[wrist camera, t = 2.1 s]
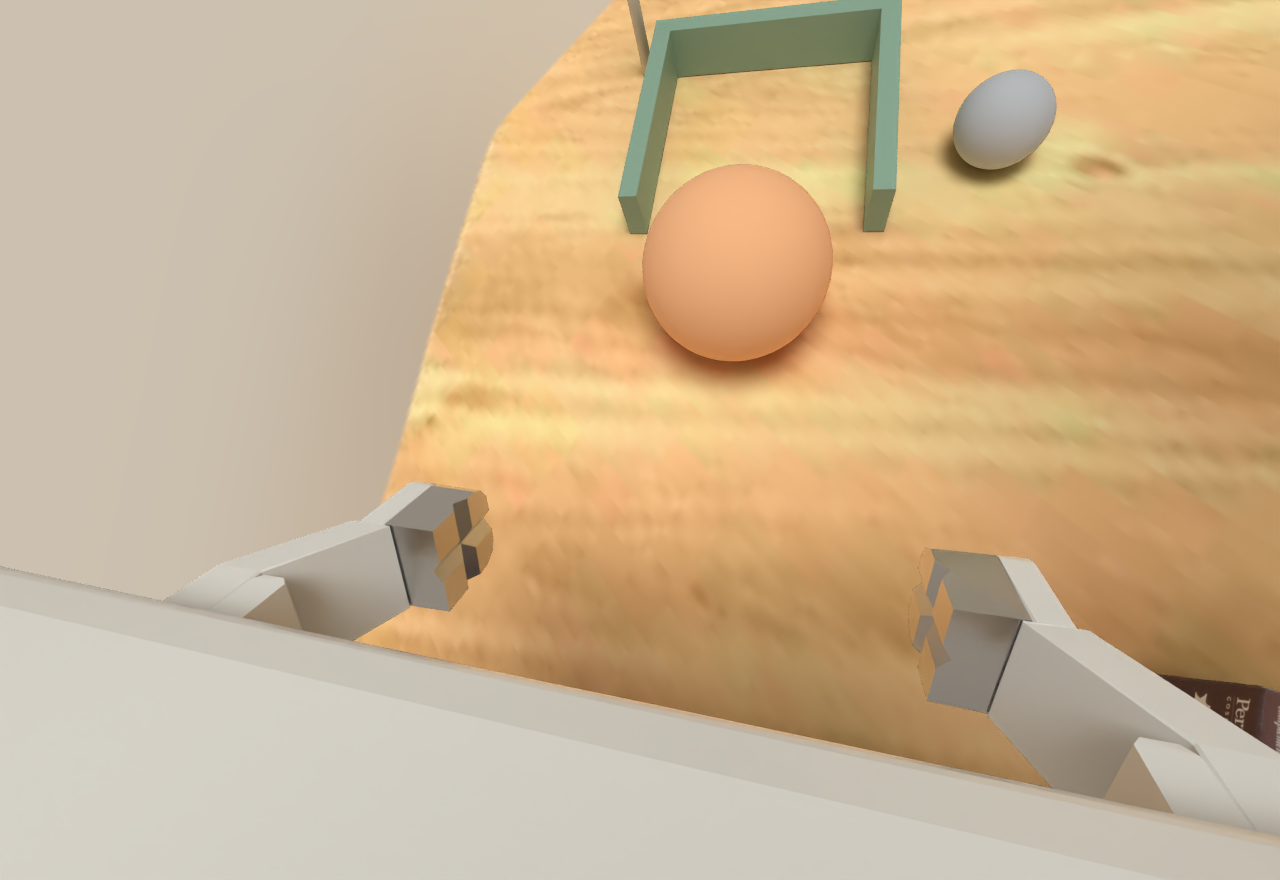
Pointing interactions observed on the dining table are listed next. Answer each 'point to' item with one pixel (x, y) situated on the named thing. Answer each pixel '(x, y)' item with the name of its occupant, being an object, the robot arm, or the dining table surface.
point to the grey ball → (1004, 119)
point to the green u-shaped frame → (762, 42)
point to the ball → (737, 262)
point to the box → (1238, 705)
